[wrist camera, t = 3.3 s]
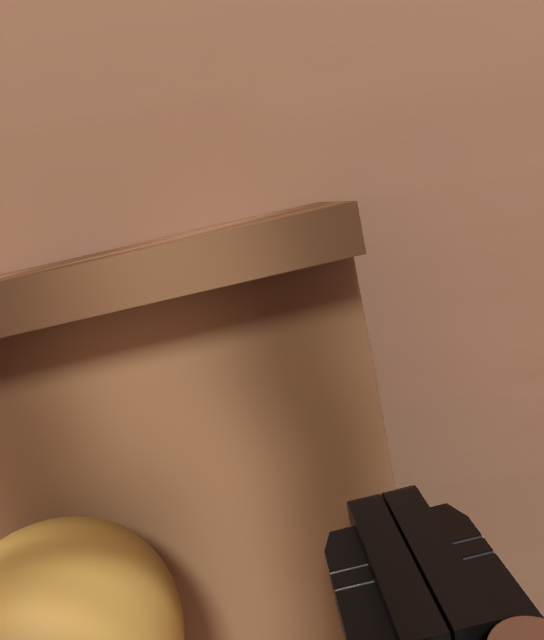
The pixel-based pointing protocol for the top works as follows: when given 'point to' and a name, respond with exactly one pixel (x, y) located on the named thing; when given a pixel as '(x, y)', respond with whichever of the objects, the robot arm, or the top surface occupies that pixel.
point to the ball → (85, 584)
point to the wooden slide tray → (202, 409)
